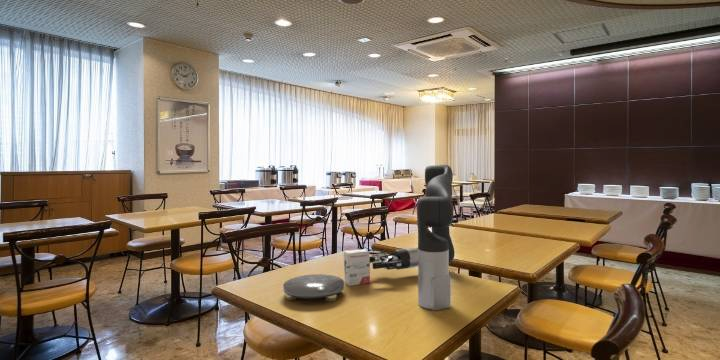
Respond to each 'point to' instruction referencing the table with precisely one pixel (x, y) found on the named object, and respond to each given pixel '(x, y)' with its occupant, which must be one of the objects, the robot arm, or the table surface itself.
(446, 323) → the table surface
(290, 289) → the base
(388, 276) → the table surface
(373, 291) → the table surface
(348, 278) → the ink box
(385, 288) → the table surface
